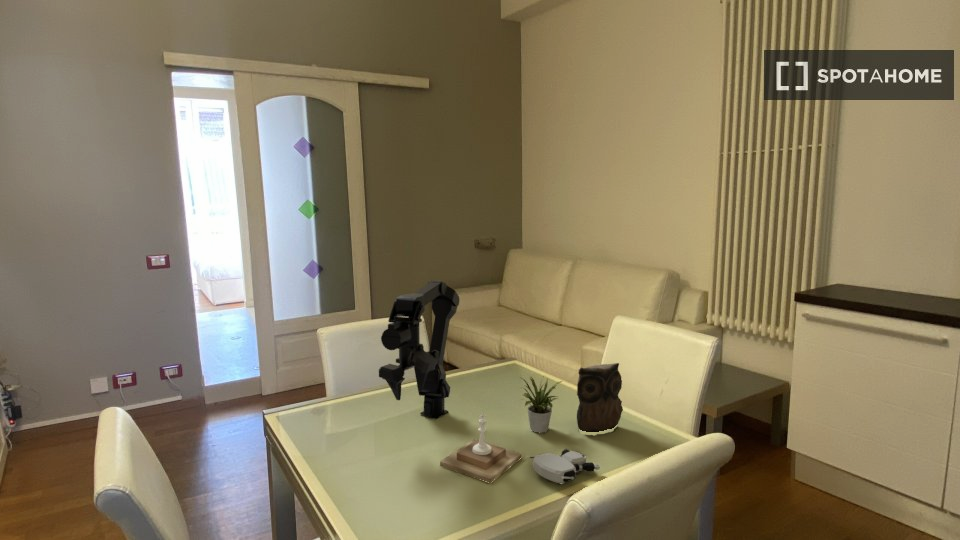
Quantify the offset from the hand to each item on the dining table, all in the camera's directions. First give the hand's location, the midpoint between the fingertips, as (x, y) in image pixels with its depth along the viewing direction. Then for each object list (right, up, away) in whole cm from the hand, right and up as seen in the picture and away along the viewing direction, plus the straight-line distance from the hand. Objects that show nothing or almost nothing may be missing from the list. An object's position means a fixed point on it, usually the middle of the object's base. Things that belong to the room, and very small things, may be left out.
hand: (409, 395), depth 146 cm
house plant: (+36, -12, +6) cm, 38 cm away
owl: (+54, -12, +9) cm, 56 cm away
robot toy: (+40, -15, -18) cm, 47 cm away
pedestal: (+20, -14, -13) cm, 28 cm away
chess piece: (+20, -11, -13) cm, 27 cm away
